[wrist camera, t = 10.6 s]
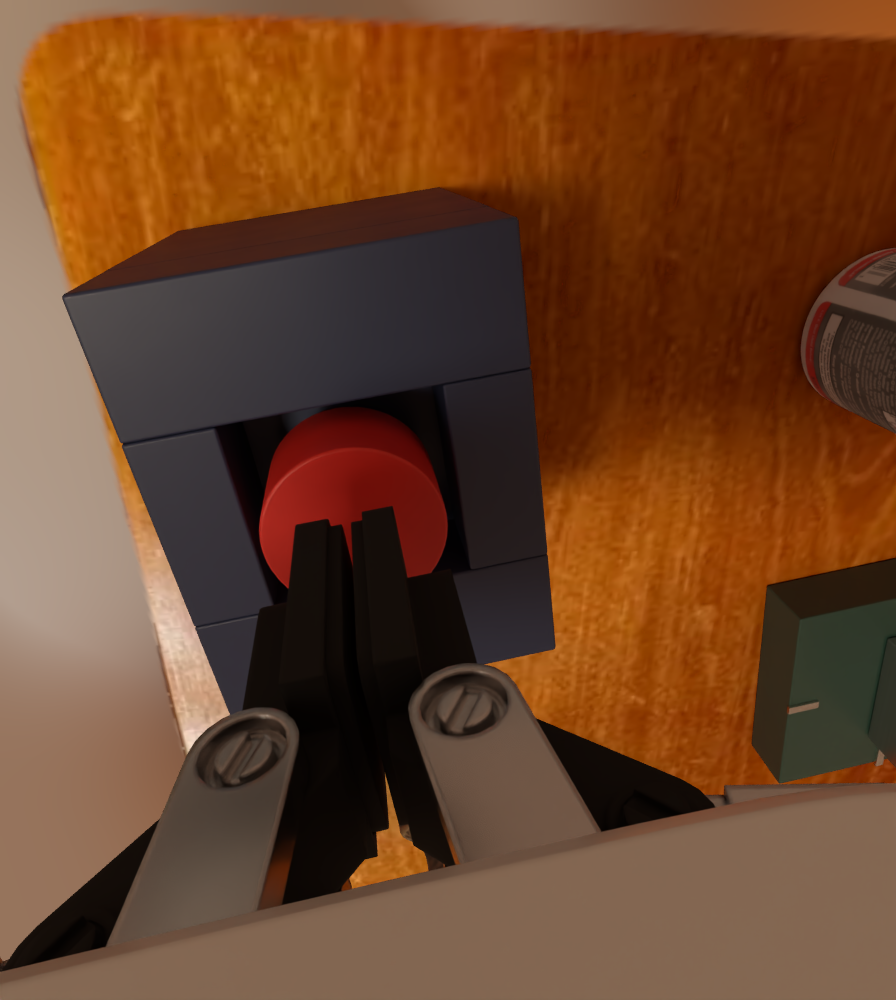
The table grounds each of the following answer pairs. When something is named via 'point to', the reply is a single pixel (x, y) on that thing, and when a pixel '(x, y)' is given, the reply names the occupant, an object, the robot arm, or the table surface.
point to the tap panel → (823, 670)
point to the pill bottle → (856, 339)
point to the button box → (327, 394)
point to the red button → (352, 485)
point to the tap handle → (886, 706)
